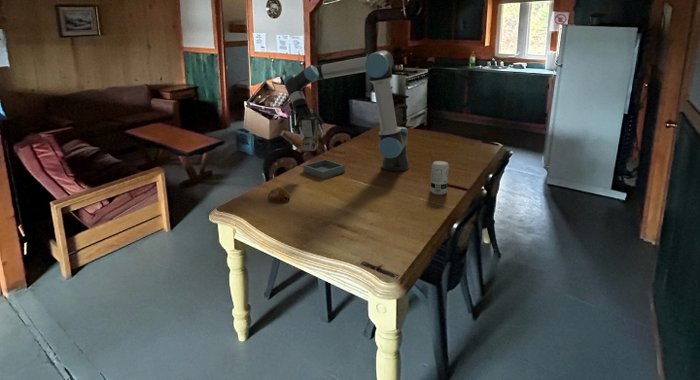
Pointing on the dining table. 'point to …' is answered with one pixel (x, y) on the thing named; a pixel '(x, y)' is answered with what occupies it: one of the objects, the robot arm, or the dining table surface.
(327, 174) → the tray
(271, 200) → the bread roll
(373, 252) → the dining table surface
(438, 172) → the supplement can
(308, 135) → the coffee box
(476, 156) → the dining table surface
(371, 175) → the dining table surface
